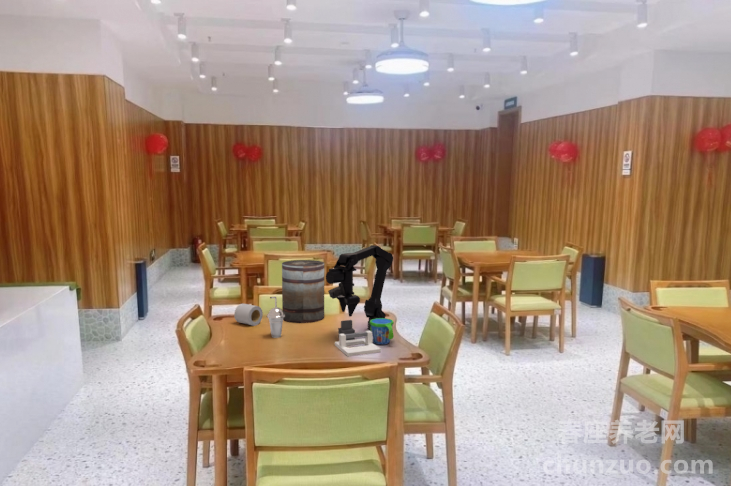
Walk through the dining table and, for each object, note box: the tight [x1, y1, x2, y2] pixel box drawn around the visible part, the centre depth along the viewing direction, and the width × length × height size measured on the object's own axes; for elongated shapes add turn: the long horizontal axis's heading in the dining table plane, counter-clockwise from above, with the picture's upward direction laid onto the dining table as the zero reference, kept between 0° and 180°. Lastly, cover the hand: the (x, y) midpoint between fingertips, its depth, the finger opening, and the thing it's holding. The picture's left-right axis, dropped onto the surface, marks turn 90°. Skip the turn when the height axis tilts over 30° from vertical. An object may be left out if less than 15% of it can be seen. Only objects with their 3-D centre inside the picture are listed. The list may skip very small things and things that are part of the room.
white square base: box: [334, 330, 382, 357], centre depth 216 cm, size 15×16×6 cm
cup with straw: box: [266, 296, 285, 339], centre depth 232 cm, size 8×9×20 cm
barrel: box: [281, 259, 325, 324], centre depth 266 cm, size 22×22×30 cm
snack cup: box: [370, 317, 394, 345], centre depth 225 cm, size 16×10×10 cm
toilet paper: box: [233, 303, 263, 327], centre depth 254 cm, size 10×10×10 cm
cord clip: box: [337, 319, 356, 340], centre depth 231 cm, size 6×6×8 cm
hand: (346, 314), depth 230 cm, fingers open, 9 cm apart
